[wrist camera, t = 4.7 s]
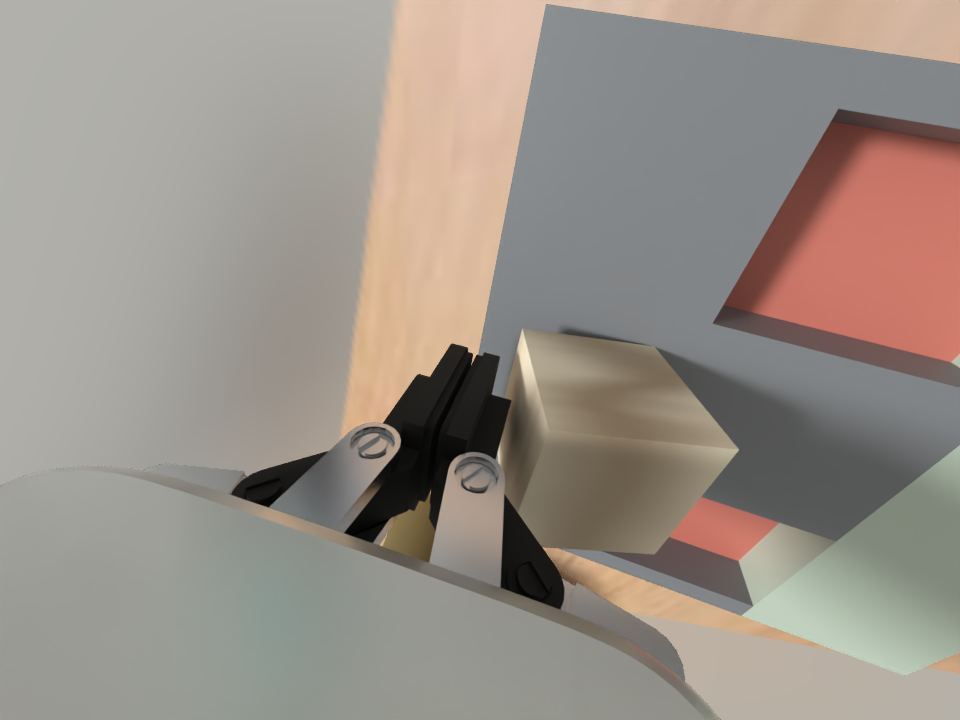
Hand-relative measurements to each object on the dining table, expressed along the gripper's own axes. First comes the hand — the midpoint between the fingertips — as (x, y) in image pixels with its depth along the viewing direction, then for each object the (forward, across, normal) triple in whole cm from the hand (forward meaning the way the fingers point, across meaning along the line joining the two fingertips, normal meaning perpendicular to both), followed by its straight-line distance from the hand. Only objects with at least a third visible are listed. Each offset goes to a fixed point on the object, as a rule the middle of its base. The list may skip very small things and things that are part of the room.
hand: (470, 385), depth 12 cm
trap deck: (+4, -11, 0) cm, 12 cm away
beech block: (+1, -3, 0) cm, 4 cm away
